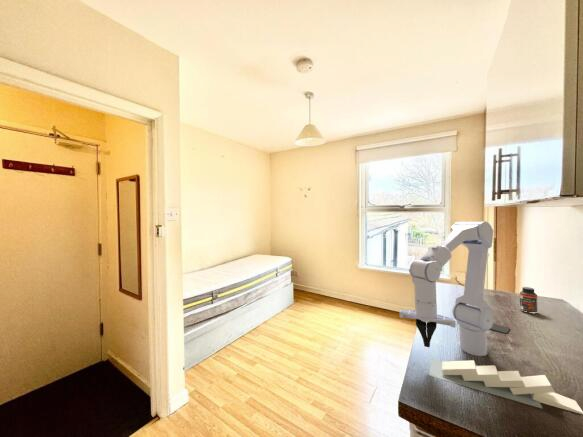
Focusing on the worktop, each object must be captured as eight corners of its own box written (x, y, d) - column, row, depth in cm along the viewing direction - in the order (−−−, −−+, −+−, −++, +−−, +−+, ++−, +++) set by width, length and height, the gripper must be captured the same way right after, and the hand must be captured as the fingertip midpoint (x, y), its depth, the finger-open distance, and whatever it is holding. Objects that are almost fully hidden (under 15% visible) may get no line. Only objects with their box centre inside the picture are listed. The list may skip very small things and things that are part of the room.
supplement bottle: (521, 312, 111) (520, 288, 111) (518, 308, 116) (517, 285, 116) (539, 315, 107) (538, 290, 108) (535, 311, 112) (534, 287, 113)
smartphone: (507, 333, 91) (461, 321, 102) (507, 336, 91) (461, 323, 102) (511, 327, 95) (466, 316, 107) (511, 330, 95) (466, 318, 107)
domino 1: (461, 366, 68) (494, 365, 64) (463, 371, 68) (497, 371, 63) (461, 374, 64) (497, 374, 60) (464, 380, 64) (500, 380, 60)
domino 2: (481, 371, 65) (518, 370, 61) (483, 377, 65) (520, 376, 61) (483, 380, 62) (522, 380, 57) (486, 386, 61) (525, 387, 57)
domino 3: (506, 378, 62) (544, 374, 58) (509, 384, 62) (548, 381, 58) (509, 388, 59) (551, 385, 55) (513, 394, 58) (555, 392, 54)
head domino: (442, 361, 70) (473, 360, 66) (444, 366, 70) (476, 365, 66) (442, 369, 67) (475, 368, 62) (444, 375, 66) (478, 374, 62)
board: (431, 363, 74) (431, 359, 74) (531, 390, 61) (531, 385, 61) (429, 379, 66) (429, 375, 66) (543, 413, 54) (542, 408, 54)
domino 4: (528, 382, 60) (575, 400, 56) (527, 388, 60) (573, 406, 56) (534, 393, 56) (584, 413, 52) (532, 399, 56) (582, 419, 52)
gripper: (397, 300, 72) (398, 345, 72) (455, 308, 64) (456, 359, 64) (400, 294, 78) (402, 335, 78) (454, 301, 70) (456, 347, 70)
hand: (427, 345), depth 71 cm, fingers closed
